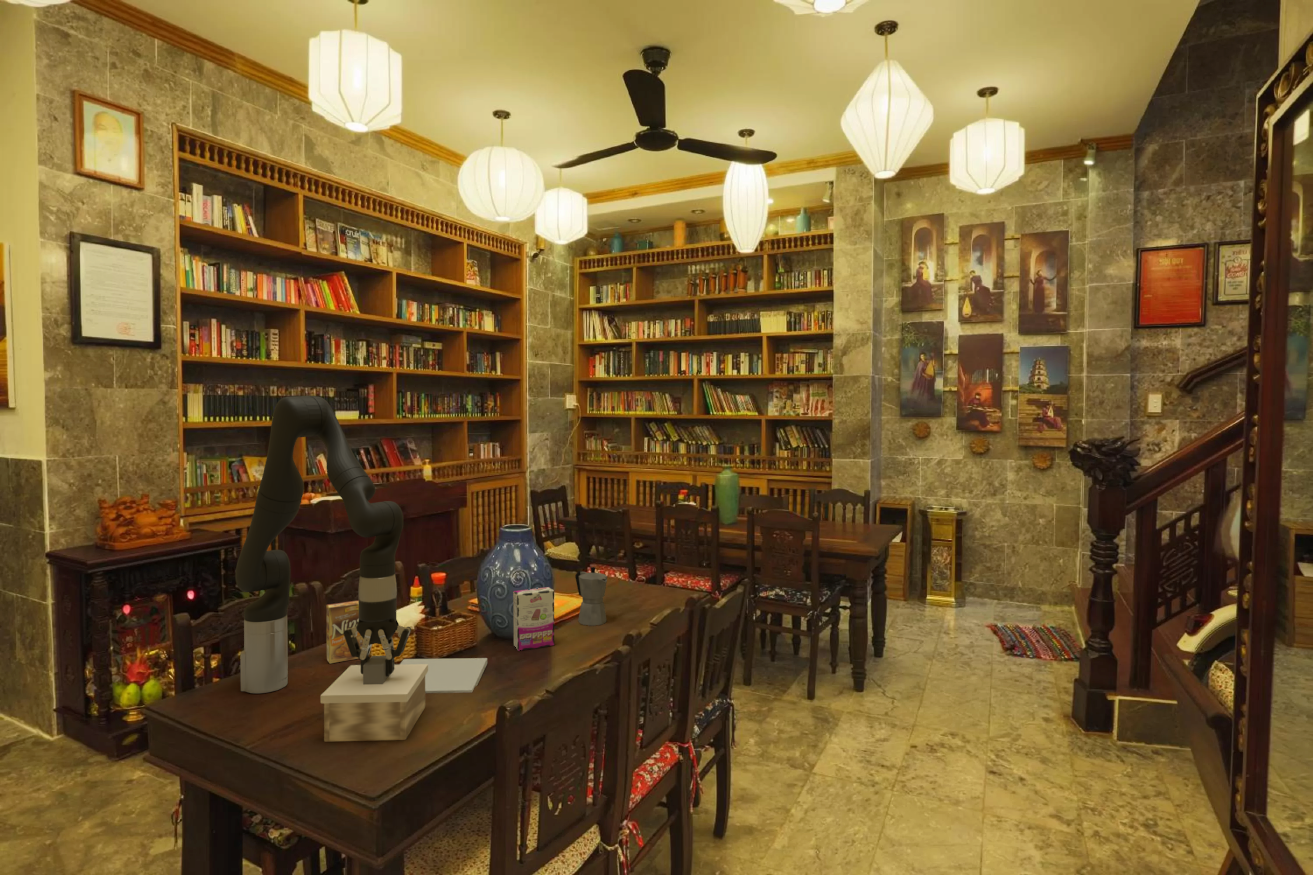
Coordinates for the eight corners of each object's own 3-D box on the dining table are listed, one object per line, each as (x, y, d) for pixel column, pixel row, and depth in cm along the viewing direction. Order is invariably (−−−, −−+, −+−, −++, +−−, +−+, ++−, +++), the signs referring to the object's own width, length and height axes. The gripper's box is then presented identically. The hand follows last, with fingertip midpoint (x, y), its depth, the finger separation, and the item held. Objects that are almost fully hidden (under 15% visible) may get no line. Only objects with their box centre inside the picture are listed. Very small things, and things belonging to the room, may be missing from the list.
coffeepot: (616, 623, 228) (617, 568, 227) (594, 629, 221) (594, 572, 220) (586, 613, 239) (587, 560, 238) (564, 618, 232) (564, 564, 231)
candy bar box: (549, 640, 209) (549, 586, 209) (554, 645, 205) (555, 590, 204) (512, 646, 204) (512, 590, 204) (517, 651, 200) (517, 594, 199)
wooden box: (324, 746, 142) (324, 702, 142) (352, 712, 158) (352, 672, 158) (405, 744, 143) (405, 700, 143) (425, 711, 159) (425, 671, 159)
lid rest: (377, 697, 166) (377, 691, 166) (403, 664, 188) (403, 659, 188) (472, 696, 168) (472, 690, 168) (487, 663, 190) (487, 657, 190)
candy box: (329, 664, 188) (329, 607, 187) (326, 659, 191) (325, 603, 190) (364, 658, 193) (364, 602, 192) (360, 653, 196) (360, 599, 196)
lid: (320, 703, 141) (320, 675, 141) (350, 672, 158) (350, 647, 158) (407, 701, 143) (407, 674, 142) (428, 671, 159) (428, 646, 159)
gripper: (336, 600, 145) (336, 682, 146) (406, 600, 146) (406, 681, 147) (349, 591, 153) (349, 669, 153) (416, 591, 154) (416, 668, 155)
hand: (377, 674), depth 150 cm, fingers closed on lid, 4 cm apart
